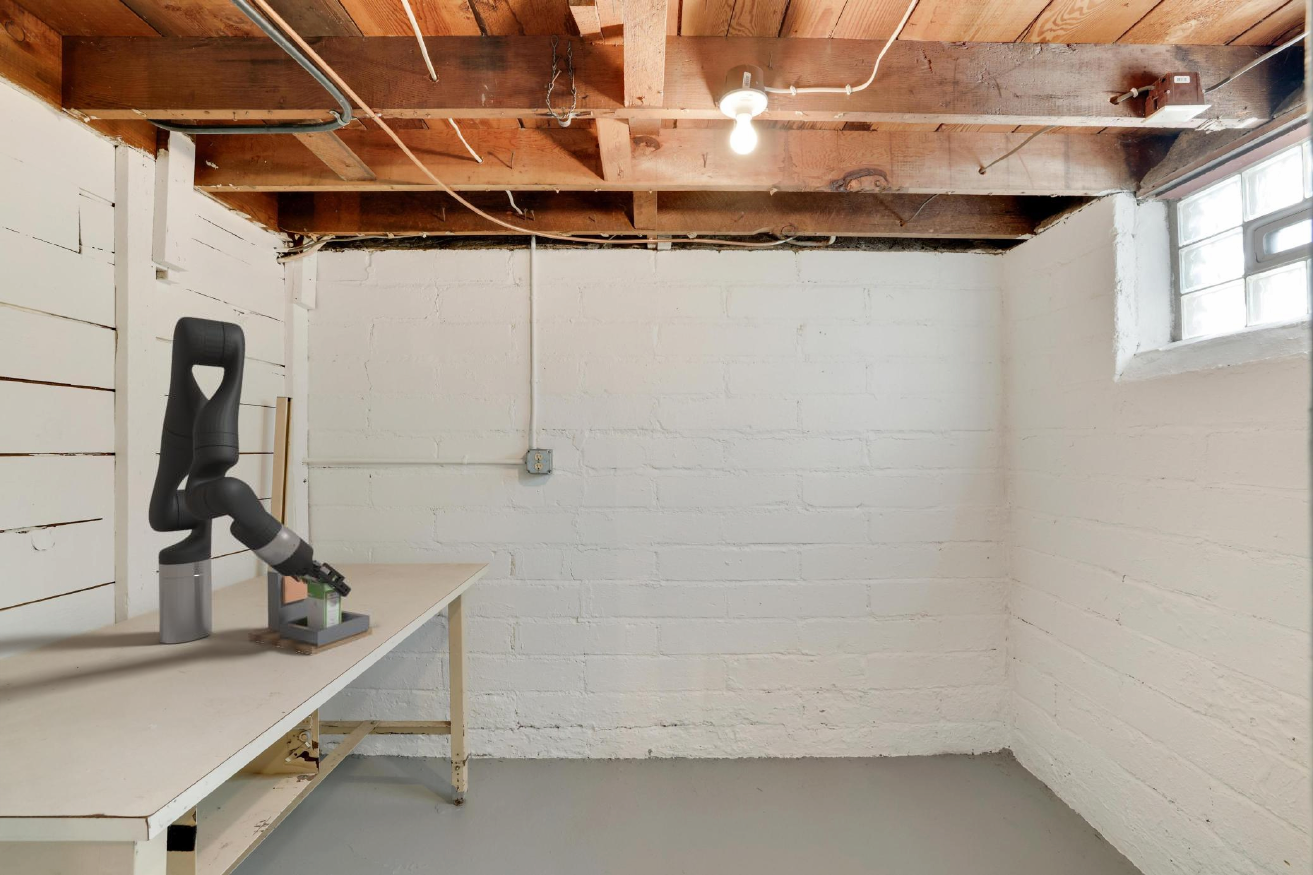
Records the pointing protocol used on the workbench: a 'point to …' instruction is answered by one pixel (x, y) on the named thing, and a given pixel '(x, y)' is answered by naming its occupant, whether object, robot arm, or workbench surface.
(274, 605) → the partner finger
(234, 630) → the workbench surface
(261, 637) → the walnut rail base
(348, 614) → the dark gray rectangular frame
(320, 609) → the ink box
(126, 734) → the workbench surface
